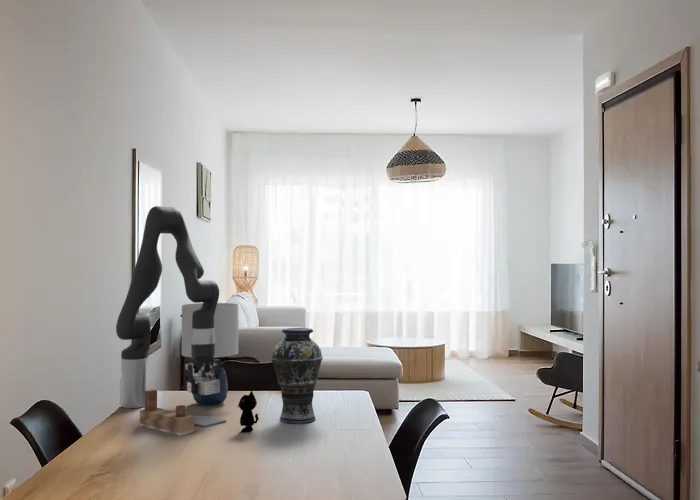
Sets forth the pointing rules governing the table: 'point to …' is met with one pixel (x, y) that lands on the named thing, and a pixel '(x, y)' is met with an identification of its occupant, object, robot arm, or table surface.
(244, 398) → the cat figurine
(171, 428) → the plane body
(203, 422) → the felt mat
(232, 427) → the table surface
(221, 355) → the lamp
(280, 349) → the vase
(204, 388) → the lever cap
